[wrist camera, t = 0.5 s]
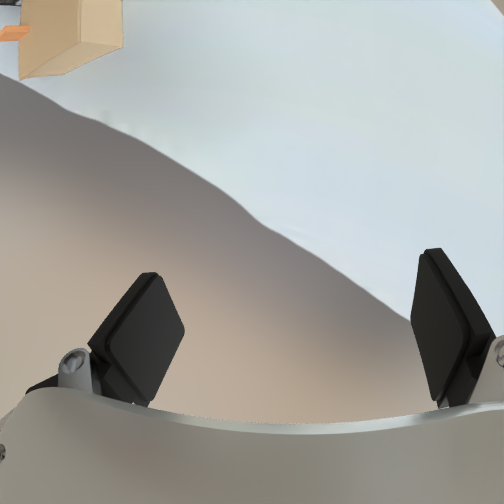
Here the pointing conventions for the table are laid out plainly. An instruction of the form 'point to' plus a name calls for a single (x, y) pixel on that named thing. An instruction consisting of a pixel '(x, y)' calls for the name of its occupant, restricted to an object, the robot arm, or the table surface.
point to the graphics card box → (11, 2)
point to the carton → (89, 37)
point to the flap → (44, 32)
